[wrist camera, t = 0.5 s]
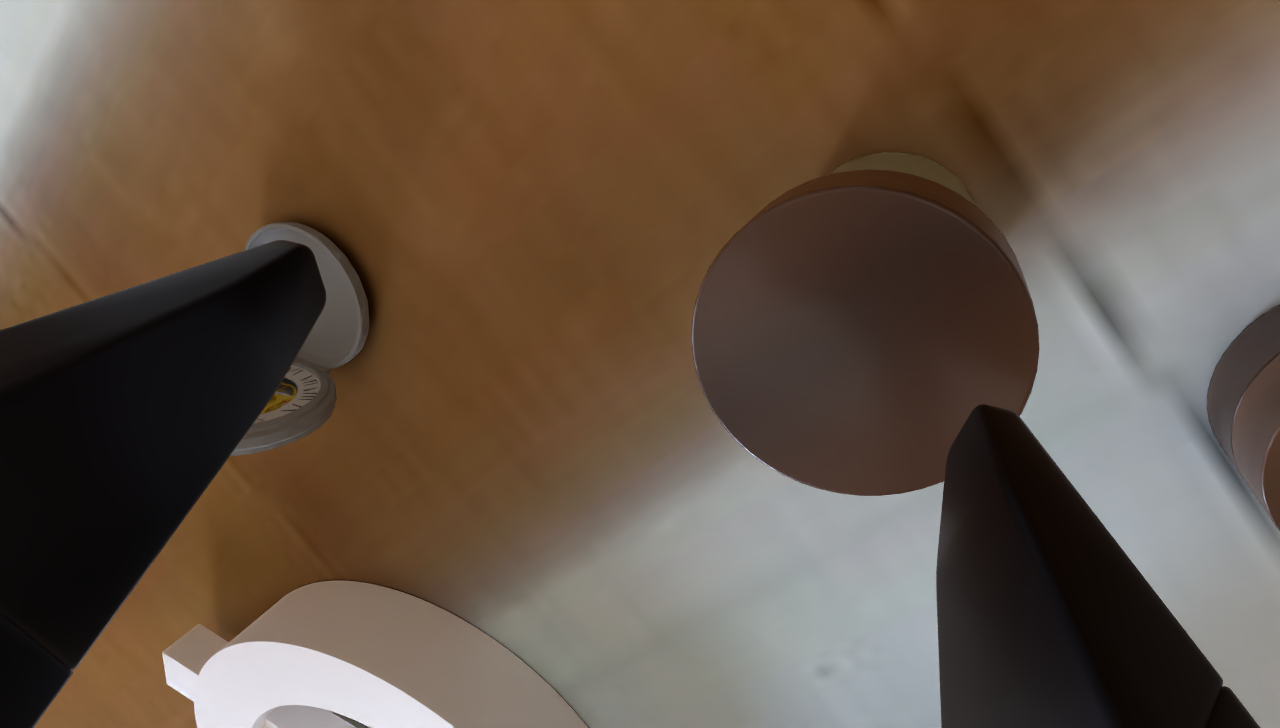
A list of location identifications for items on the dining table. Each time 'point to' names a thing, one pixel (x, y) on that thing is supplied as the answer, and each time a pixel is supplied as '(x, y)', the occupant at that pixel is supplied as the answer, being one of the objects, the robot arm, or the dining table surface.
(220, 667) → the ring with crossbar
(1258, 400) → the middle chip
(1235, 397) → the base chip
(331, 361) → the pocket watch
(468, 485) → the dining table surface
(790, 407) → the dark brown wooden disc
